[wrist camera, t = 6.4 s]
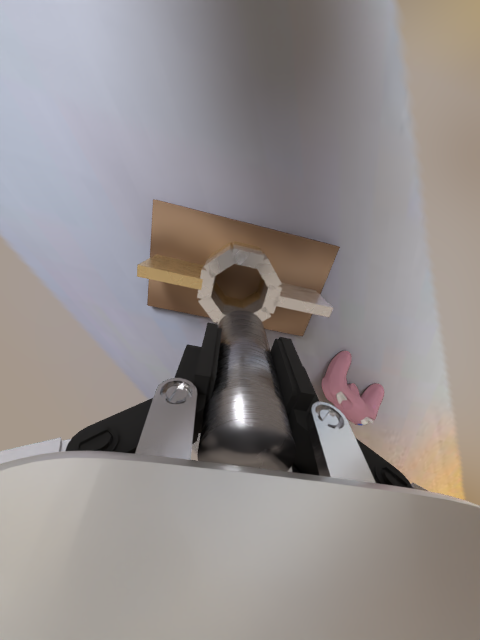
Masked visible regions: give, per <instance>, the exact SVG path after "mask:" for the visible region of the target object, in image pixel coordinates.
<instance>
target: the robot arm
mask: <svg viewBox="0 0 480 640" xmlns="http://www.w3.org/2000/svg"><path fill="white" fill-rule="evenodd" d="M221 332H222V328H218V325H216V324H211V323H208V324H207V328H206V332H205V336H204V340H203V344H202V347H198V346H192V345H187V346H186V348H185V351H184V354H183V357H182V359H181V362H180V365H179V367H178V370H177V373H176V375H175V378H171V379H167V380H165V381H163V382H162V383H160V384H159V385H158V387H157V389H156V391H155V394H154V397H153V398H152V399H149V400H147V401H145V402H143V403H140V404H138V405H136V406H134V407H131V408H129V409H127V410H124V411H122V412H120V413H118V414H115V415H113V416H111V417H109V418H106V419H104V420H102V421H99V422H97V423H95V424H93V425H90V426H88V427H86V428H85V429H83V430H81V431H79V432H78V433H77V434H76V435H75V436H74V437H73V438H72V439H68V440H64V441H62V439H61V437H60V438H56V439H52V440H48V441H43V442H39V443H34V444H30V445H26V446H22V447H17V448H13V449H9V450H4V451H0V640H480V506H479V505H476V504H473V503H471V502H468V501H465V500H462V499H459V498H455V497H452V496H448V495H444V494H439V493H434V492H429V491H427V490H426V489H424V488H422V487H420V486H418V485H416V484H414V483H412V484H410V482H409V481H408V480H407V479H406V477H405V476H404V475H403V474H402V473H401V472H400V471H399V470H397V469H396V468H395V467H394V466H392V465H391V464H390V463H388V462H387V461H386V460H384V459H383V458H382V457H380V456H379V455H378V454H376V453H375V452H374V451H372V450H371V449H370V448H368V447H367V446H366V445H364V444H363V443H362V442H360V441H359V440H358V439H356V438H355V436H354V434H353V431H352V429H351V427H350V425H349V423H348V420H347V419H346V417H345V415H344V414H343V413H342V412H341V411H340V410H339V409H337V408H336V407H334V406H333V405H331V404H329V403H326V402H319V400H318V397H317V395H316V393H315V391H314V388H313V386H312V384H311V382H310V379H309V377H308V375H307V373H306V370H305V368H304V367H303V366H302V364H301V361H300V359H299V357H298V355H297V352H296V350H295V348H294V345H293V343H292V341H291V339H287V338H282V337H280V338H279V339H275V341H274V343H273V346H272V349H271V355H272V359H273V363H274V367H275V371H276V374H277V378H278V382H279V386H280V390H281V393H282V397H283V401H284V405H285V409H286V412H287V416H288V420H289V424H290V428H291V431H292V435H293V439H294V443H295V447H296V458H295V461H294V463H293V465H292V466H291V468H290V469H289V470H288V471H287V472H286V471H278V470H270V469H262V468H254V467H246V466H238V465H229V464H221V463H212V462H204V461H195V460H191V451H192V444H193V443H195V442H196V441H197V438H198V433H201V429H202V423H203V416H204V410H205V407H206V405H207V403H208V401H209V400H210V399H211V397H212V393H213V389H214V385H215V380H216V374H217V366H218V357H219V349H220V341H221Z"/></svg>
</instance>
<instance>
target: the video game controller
mask: <svg viewBox="0 0 480 640" xmlns="http://www.w3.org/2000/svg"><path fill="white" fill-rule="evenodd" d="M351 357H352V356H351V354H350V352H348V351H341V352H340V353H338V354H337V355H336V356H335V357H334V358H333V359H332V361H331V362H330V364H329V366H328V368H327V371H326V374H325V377H323V379H322V390H323V392H324V394H325V397H326V398H327V399H328V401H330V402H332V403H333V404H334V406H335V407H336V408H337V409H339V410H340V411H341V412H342V413H343V414H344V415H345V417H346V418H347V419H348V420H349V421H351V422H353V423H354V424H356V425H367V424H368V423H369V422H371V423H373V420H375V419H376V416H377V412H378V409H379V406H380V404H381V402H382V400H383V397H384V389H383V387H382V385H380V384H377V383H375V384H372V385H370V386H369V387H368V388H367V389H366V390H365V391H364V392H363V394H362V395H361V397H360V394H359V391H358V388H357V386H356V385H355V384H353V383H352V384H347V380H346V375H347V372H348V369H349V367H350V364H351Z"/></svg>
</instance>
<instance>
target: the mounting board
mask: <svg viewBox="0 0 480 640" xmlns="http://www.w3.org/2000/svg"><path fill="white" fill-rule="evenodd" d="M234 241H236V242H240V243H244V244H248V245H253V246H257V247H259V248H260V250H261V249H262V251H263V252H264V254H265V255H266V256H267V258H268V260H269V261H270V263H271V265H272V267H273V269H274V270H275V272H276V274H277V276H278V278H279V280H280V281H281V283H285V284H289V285H294V286H298V287H302V288H307V289H311V290H316V291H317V292H318V293H319V294H320V293H321V291H322V289H323V286H324V284H325V281H326V279H327V277H328V274H329V272H330V269H331V267H332V264H333V262H334V260H335V257H336V255H337V252H338V250H339V248H340V247H338V246H335V245H331V244H327V243H324V242H320V241H316V240H312V239H308V238H304V237H300V236H296V235H292V234H288V233H284V232H280V231H277V230H273V229H269V228H265V227H261V226H257V225H253V224H249V223H245V222H241V221H237V220H234V219H230V218H226V217H222V216H218V215H214V214H210V213H206V212H202V211H198V210H194V209H190V208H187V207H183V206H179V205H175V204H171V203H167V202H163V201H159V200H154V199H153V212H152V231H151V249H150V258H151V257H153V256H155V255H156V254H157V255H162V256H166V257H170V258H175V259H179V260H184V261H188V262H192V263H197V264H201V265H204V264H205V263H206V261H207V259H208V258H209V256H210V255H211V254H213V253H214V252H216V251H217V250H219V249H220V248H222V247H223V246H225V245H226V244H228V243H229V242H231V243H232V244H234ZM260 280H261V275H260V273H259V271H258V270H257V269H255V268H250V267H246V266H242V265H237V264H233V265H232V266H230V267H228V268H227V269H225V270H224V271H222V272H221V273H219V274H217V276H216V281H215V282H216V283H217V285H218V286H219V287H220V289H221V290H222V292H223V293H224V295H225V296H228V297H233V298H237V299H242V300H243V299H244V298H246V297H248V296H249V295H251V294H253V293H254V292H256V291H258V287H259V283H260ZM197 295H198V289H194V288H189V287H185V286H180V285H175V284H171V283H166V282H161V281H156V280H152V279H149V286H148V304H147V305H148V306H153V307H158V308H163V309H168V310H173V311H178V312H183V313H188V314H193V315H198V316H203V317H208V318H210V317H209V315H208V314H207V313H206V311H205V310H204V309H203V307H202V306H201V305H200V303H199V302H198V300H199V298H197ZM270 314H271V317H270V318H268V319H266V320H264V321H262V323H263V325H264V329H268V330H273V331H278V332H283V333H288V334H293V335H298V336H303V335H304V332H305V330H306V327H307V325H308V323H309V320H310V318H311V315H312V314H311V313H306V312H302V311H297V310H292V309H287V308H283V307H278V306H276V308H275V311H274V314H272V313H270Z"/></svg>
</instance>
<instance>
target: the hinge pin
mask: <svg viewBox="0 0 480 640" xmlns="http://www.w3.org/2000/svg"><path fill="white" fill-rule="evenodd" d="M218 328H222V332H221V341H220V349H219V357H218V366H217V374H216V380H215V385H214V389H213V393H212V397H211V399H210V400H209V401H208V403H207V405H206V407H205V410H204V416H203V423H202V429H201V435H200V442H199V448H198V461H204V462H212V463H221V464H229V465H238V466H246V467H254V468H262V469H270V470H278V471H286V472H287V471H288V470H289V469H290V468H291V466H292V465H293V463H294V461H295V458H296V447H295V443H294V439H293V435H292V431H291V428H290V424H289V420H288V416H287V412H286V409H285V405H284V401H283V397H282V393H281V390H280V386H279V382H278V378H277V374H276V371H275V367H274V363H273V359H272V355H271V352H270V348H269V344H268V340H267V336H266V333H265V329H264V325H263V323H262V321H261V319H260V318H259V317H258V316H257V315H255V314H254V313H252V312H249V311H245V310H237V311H233V312H230V313H228V314H227V315H225V316H224V317H223V318H222V319H221V320H220V322H219V324H218Z"/></svg>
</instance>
